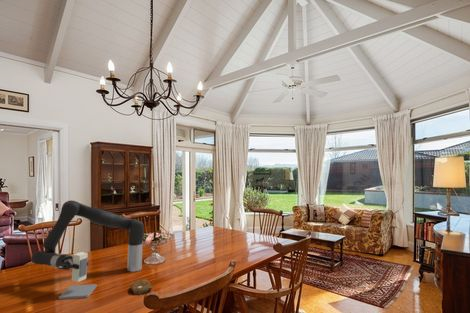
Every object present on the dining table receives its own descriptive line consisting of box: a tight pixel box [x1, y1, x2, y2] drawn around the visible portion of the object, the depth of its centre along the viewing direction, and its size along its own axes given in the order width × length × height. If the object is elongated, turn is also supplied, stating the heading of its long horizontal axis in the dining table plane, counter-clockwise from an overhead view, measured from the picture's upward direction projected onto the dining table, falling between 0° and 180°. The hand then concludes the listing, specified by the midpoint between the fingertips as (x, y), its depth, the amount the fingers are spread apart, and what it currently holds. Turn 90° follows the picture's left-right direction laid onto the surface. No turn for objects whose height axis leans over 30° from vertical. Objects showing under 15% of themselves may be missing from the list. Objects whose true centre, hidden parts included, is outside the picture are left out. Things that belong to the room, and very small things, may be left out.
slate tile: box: [58, 283, 98, 300], centre depth 147 cm, size 14×14×1 cm
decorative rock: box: [130, 278, 153, 296], centre depth 152 cm, size 11×4×15 cm
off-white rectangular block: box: [71, 251, 89, 283], centre depth 147 cm, size 5×5×14 cm
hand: (83, 265), depth 146 cm, fingers closed on off-white rectangular block, 5 cm apart
